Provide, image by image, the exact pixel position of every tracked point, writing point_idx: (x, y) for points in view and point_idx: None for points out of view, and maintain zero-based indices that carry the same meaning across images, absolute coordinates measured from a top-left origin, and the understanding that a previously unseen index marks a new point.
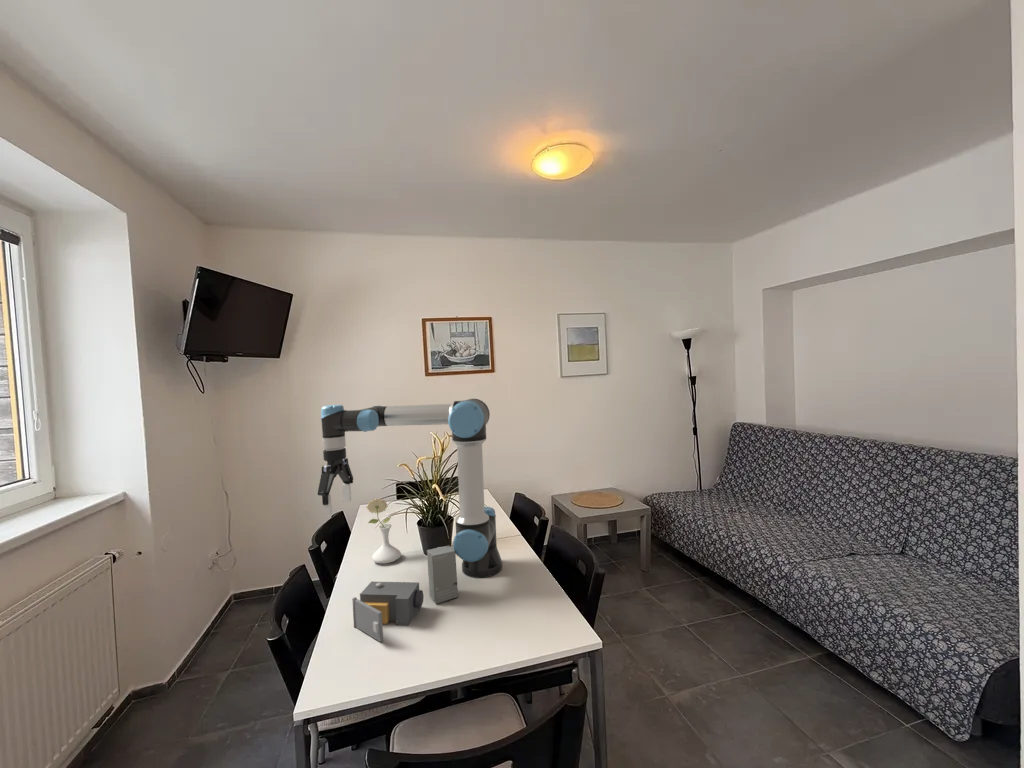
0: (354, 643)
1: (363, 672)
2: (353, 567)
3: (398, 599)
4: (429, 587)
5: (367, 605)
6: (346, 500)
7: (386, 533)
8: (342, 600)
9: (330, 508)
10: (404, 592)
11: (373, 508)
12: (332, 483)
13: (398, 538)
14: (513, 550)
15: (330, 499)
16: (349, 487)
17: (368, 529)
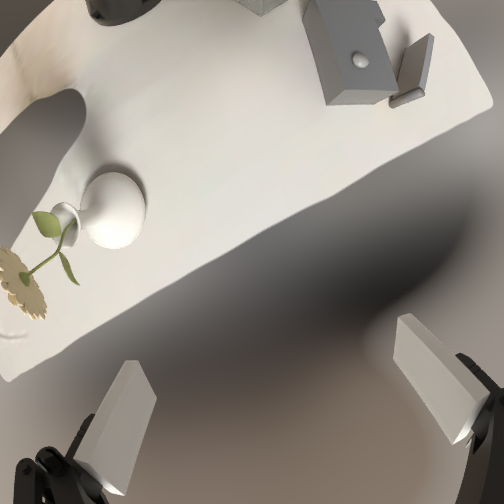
0: None
1: (450, 60)
2: (172, 268)
3: (382, 16)
4: (264, 5)
5: (426, 60)
6: (145, 386)
7: (80, 212)
8: (323, 185)
9: (428, 331)
10: (360, 9)
11: (33, 291)
12: (480, 501)
13: (32, 257)
14: (62, 3)
15: (460, 372)
16: (95, 439)
17: (37, 345)
